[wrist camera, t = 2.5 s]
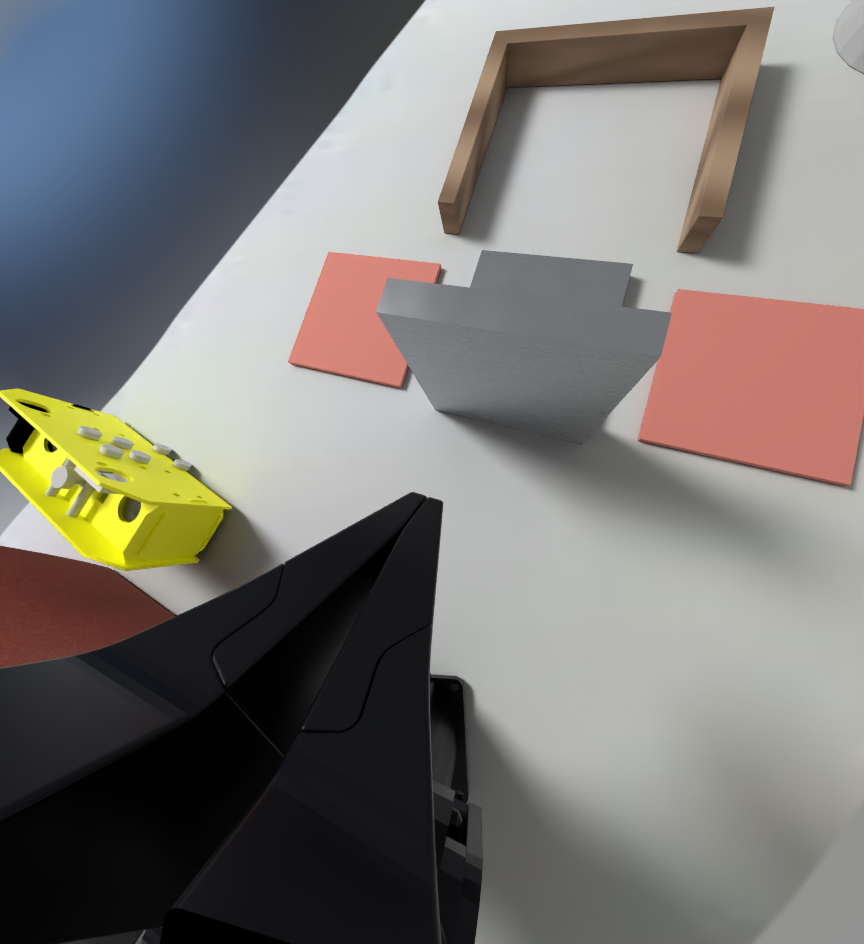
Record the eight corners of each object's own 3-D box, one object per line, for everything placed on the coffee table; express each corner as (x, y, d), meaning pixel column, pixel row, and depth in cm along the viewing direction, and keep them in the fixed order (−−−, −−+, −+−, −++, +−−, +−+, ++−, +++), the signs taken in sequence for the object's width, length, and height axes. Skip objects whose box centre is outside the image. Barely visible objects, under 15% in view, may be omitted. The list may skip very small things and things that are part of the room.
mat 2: (843, 485, 17) (850, 484, 17) (637, 440, 20) (640, 438, 19) (875, 315, 18) (883, 311, 18) (675, 293, 21) (678, 289, 20)
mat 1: (401, 388, 24) (399, 386, 24) (291, 363, 27) (288, 361, 26) (441, 267, 25) (440, 263, 25) (331, 255, 28) (328, 252, 27)
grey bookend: (581, 444, 21) (660, 356, 10) (435, 410, 23) (375, 311, 13) (627, 275, 22) (741, 37, 11) (482, 261, 24) (464, 56, 14)
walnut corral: (697, 253, 21) (722, 217, 18) (444, 232, 25) (437, 202, 23) (745, 63, 22) (774, 6, 20) (496, 75, 27) (496, 31, 24)
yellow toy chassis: (243, 502, 26) (124, 491, 18) (205, 564, 26) (67, 582, 17) (127, 414, 30) (-11, 373, 22) (94, 467, 30) (-57, 445, 22)
